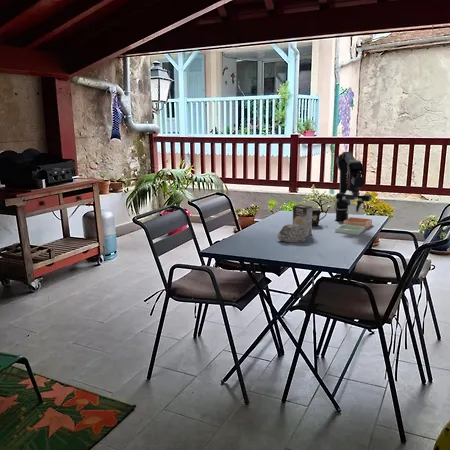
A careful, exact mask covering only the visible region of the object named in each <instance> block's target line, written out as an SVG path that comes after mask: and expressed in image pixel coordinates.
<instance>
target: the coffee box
mask: <svg viewBox="0 0 450 450" xmlns="http://www.w3.org/2000/svg"><path fill="white" fill-rule="evenodd" d="M312 208H313V206H312V205H304V204H297V205H293V207H292V225H293V224H294V225H301V226H307V227H308V228H307V230H306V236H305V238H306V237H309V236H310V235H312V234H313V232H312V231H313V227H312Z"/></svg>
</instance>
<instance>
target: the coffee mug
mask: <svg viewBox="0 0 450 450" xmlns="http://www.w3.org/2000/svg"><path fill="white" fill-rule="evenodd" d="M322 212H324V213H325V215H324V216H323V217H321V214H322ZM326 216H327V211H326V210H321V208H320V207H312V228H313V227H318V226H320V225H319V224H320V223H319V222H320V221H321V220H323V219H324V218H326ZM320 217H321V218H320Z"/></svg>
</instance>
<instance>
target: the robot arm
mask: <svg viewBox="0 0 450 450" xmlns="http://www.w3.org/2000/svg"><path fill="white" fill-rule="evenodd" d="M335 160H336V161H335V162H336V166H337V168H338V170H339V184H338V185H339V187H338V188H339V192H337V193H336V194H335V199H336V200H335V203H334V206H333V207H334V208H333V211H334V212H335V219H334V221H336V222H343V223H344V221H345V220H346V219H348V218H349V213H348V205H350V204H351V201H353V200H355V199H357V201H356V205H357V212H358V213H359V211H360V209H361V205H362V204H363V203H364V202H370V201H372V198H373V197H372V194H365V193H364V194H363V195H360V188H362V187H363V186H364V185H365V182H366V180H365V178H364V177H363V176H364V175H365V169H364V165H363V163H362V162H361V160H357V159H356V158H355V157H354V155H353V152H352V151H344V152H342V153H341V154H338V155H337V157H336V159H335Z"/></svg>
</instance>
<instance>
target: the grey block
mask: <svg viewBox="0 0 450 450" xmlns="http://www.w3.org/2000/svg"><path fill="white" fill-rule="evenodd" d="M347 213H348V215H349V214H350V215H357V214H358V213H359V211H358V212H357V204H352V203H350V205H348V211H347Z"/></svg>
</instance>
